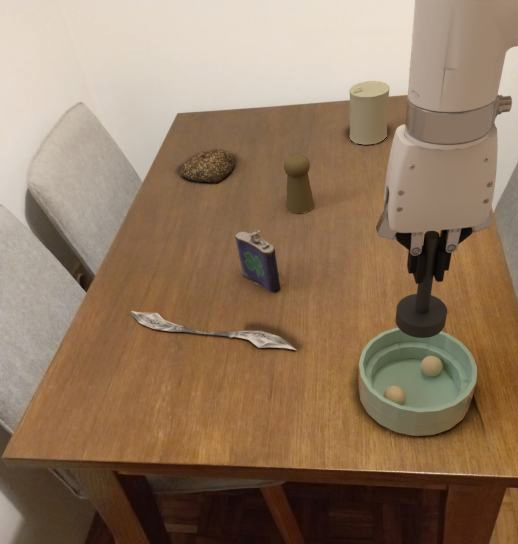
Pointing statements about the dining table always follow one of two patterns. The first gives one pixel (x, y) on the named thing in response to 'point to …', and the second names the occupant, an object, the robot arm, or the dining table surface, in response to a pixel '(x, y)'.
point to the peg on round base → (423, 299)
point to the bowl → (416, 382)
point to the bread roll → (209, 166)
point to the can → (368, 112)
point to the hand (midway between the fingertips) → (426, 274)
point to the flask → (258, 260)
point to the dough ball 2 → (431, 366)
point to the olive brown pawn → (298, 184)
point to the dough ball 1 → (395, 394)
